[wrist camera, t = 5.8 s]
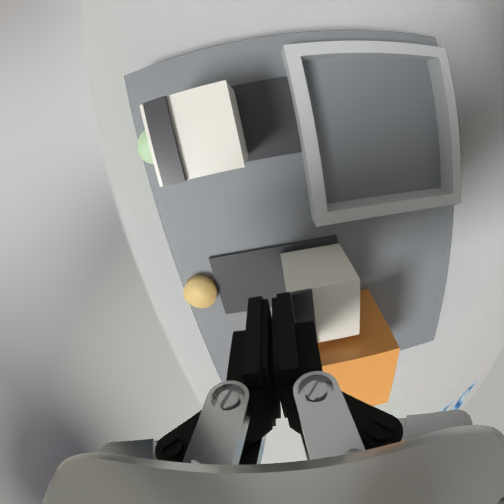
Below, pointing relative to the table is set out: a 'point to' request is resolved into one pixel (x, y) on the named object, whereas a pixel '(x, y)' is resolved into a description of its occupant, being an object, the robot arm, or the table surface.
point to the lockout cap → (364, 356)
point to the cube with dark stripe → (323, 290)
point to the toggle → (194, 133)
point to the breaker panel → (316, 174)
